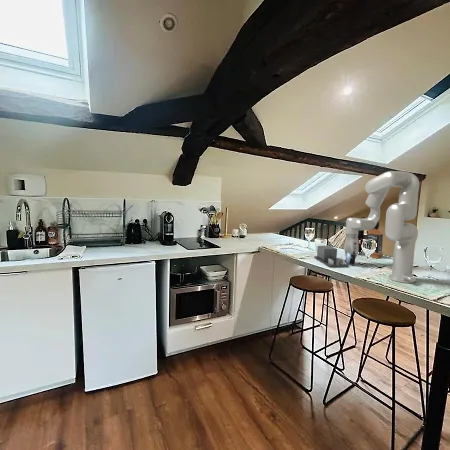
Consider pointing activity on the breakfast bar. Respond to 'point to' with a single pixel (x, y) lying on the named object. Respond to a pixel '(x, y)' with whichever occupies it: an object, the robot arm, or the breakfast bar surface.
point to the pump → (349, 259)
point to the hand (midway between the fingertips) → (350, 262)
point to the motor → (329, 257)
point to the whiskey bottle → (378, 237)
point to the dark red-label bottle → (360, 235)
